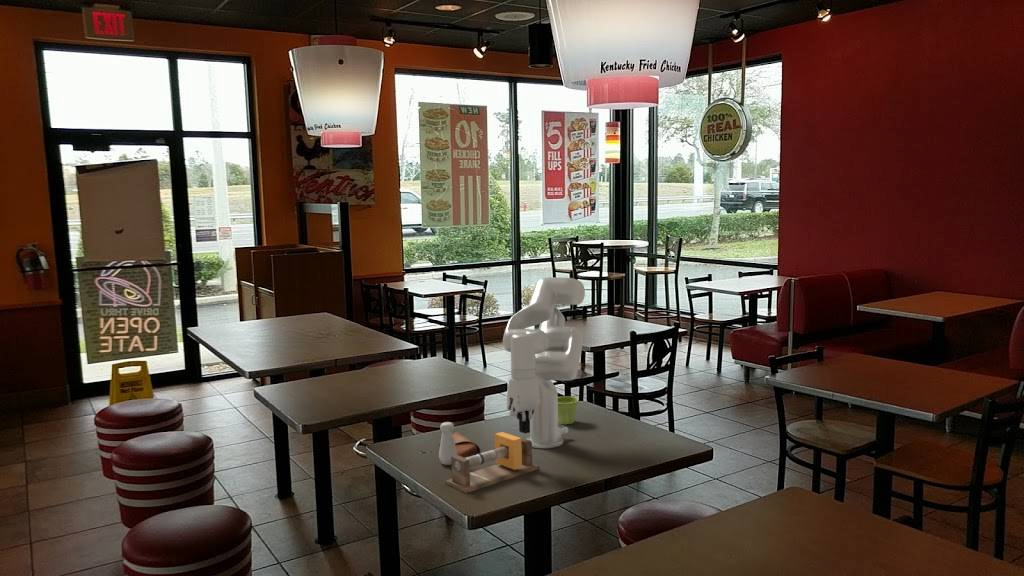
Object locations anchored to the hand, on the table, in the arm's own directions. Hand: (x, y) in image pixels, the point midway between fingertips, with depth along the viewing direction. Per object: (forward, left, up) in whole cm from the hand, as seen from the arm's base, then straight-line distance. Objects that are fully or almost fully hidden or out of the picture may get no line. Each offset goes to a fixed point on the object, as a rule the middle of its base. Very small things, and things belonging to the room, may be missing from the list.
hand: (524, 432), depth 230 cm
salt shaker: (+16, -19, -11) cm, 27 cm away
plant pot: (-41, -24, -11) cm, 49 cm away
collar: (+7, 0, -9) cm, 11 cm away
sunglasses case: (+5, -29, -12) cm, 31 cm away
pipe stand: (+13, 0, -11) cm, 17 cm away
